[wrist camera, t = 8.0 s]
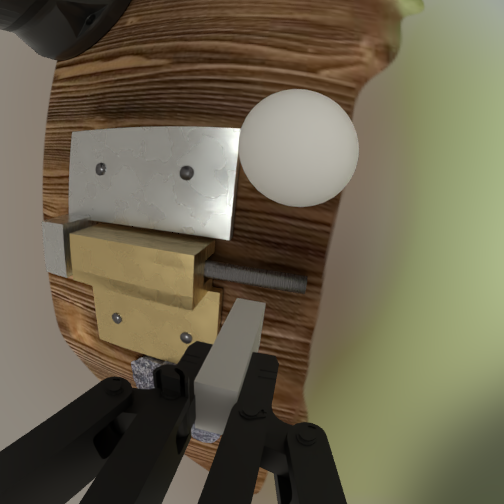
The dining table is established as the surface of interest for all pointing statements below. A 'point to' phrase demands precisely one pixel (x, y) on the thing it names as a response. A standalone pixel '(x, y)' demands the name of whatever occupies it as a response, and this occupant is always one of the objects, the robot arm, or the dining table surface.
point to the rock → (145, 381)
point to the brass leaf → (148, 288)
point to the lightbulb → (298, 147)
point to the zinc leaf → (157, 192)
